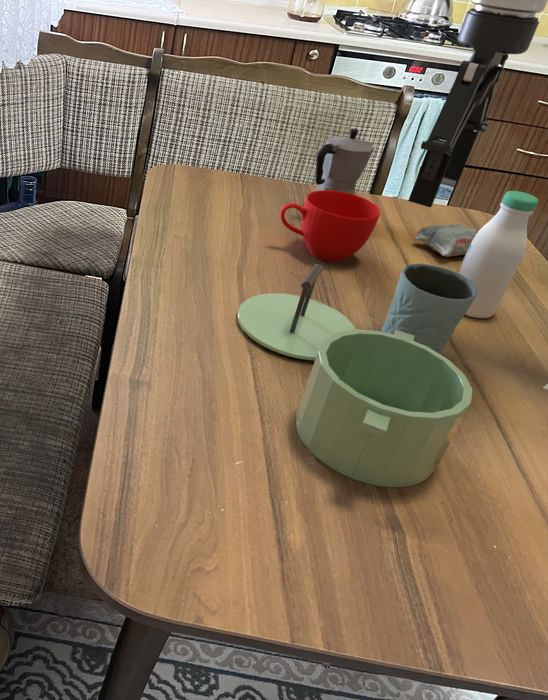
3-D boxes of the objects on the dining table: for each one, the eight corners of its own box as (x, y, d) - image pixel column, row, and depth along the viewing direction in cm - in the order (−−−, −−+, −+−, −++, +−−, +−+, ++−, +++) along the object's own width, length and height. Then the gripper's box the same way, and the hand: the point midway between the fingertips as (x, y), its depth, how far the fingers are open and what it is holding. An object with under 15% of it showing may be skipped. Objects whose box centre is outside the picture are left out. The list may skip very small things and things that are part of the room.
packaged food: (488, 260, 132) (499, 236, 129) (439, 264, 128) (449, 240, 126) (456, 241, 139) (465, 218, 136) (408, 244, 135) (417, 221, 132)
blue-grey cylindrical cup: (400, 325, 108) (428, 258, 101) (458, 359, 101) (493, 289, 95) (360, 341, 103) (387, 271, 96) (418, 377, 96) (451, 305, 90)
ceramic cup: (267, 232, 134) (280, 183, 128) (353, 243, 133) (370, 194, 127) (275, 262, 123) (290, 210, 117) (370, 274, 122) (389, 222, 117)
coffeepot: (332, 201, 151) (357, 119, 140) (366, 218, 144) (396, 133, 134) (282, 211, 143) (306, 125, 133) (316, 229, 137) (344, 140, 127)
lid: (365, 323, 108) (387, 268, 102) (342, 379, 94) (364, 319, 89) (256, 288, 114) (271, 234, 109) (220, 335, 101) (234, 277, 95)
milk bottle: (503, 320, 113) (562, 207, 101) (459, 318, 112) (514, 204, 100) (477, 296, 119) (530, 187, 108) (436, 295, 118) (485, 184, 107)
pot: (444, 415, 90) (478, 350, 84) (424, 525, 73) (464, 453, 67) (318, 370, 96) (340, 306, 90) (273, 462, 79) (297, 391, 73)
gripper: (520, 26, 67) (438, 225, 79) (558, 9, 84) (486, 176, 96) (441, 13, 70) (375, 206, 82) (492, -1, 87) (431, 161, 99)
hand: (434, 190), depth 89 cm, fingers open, 13 cm apart
